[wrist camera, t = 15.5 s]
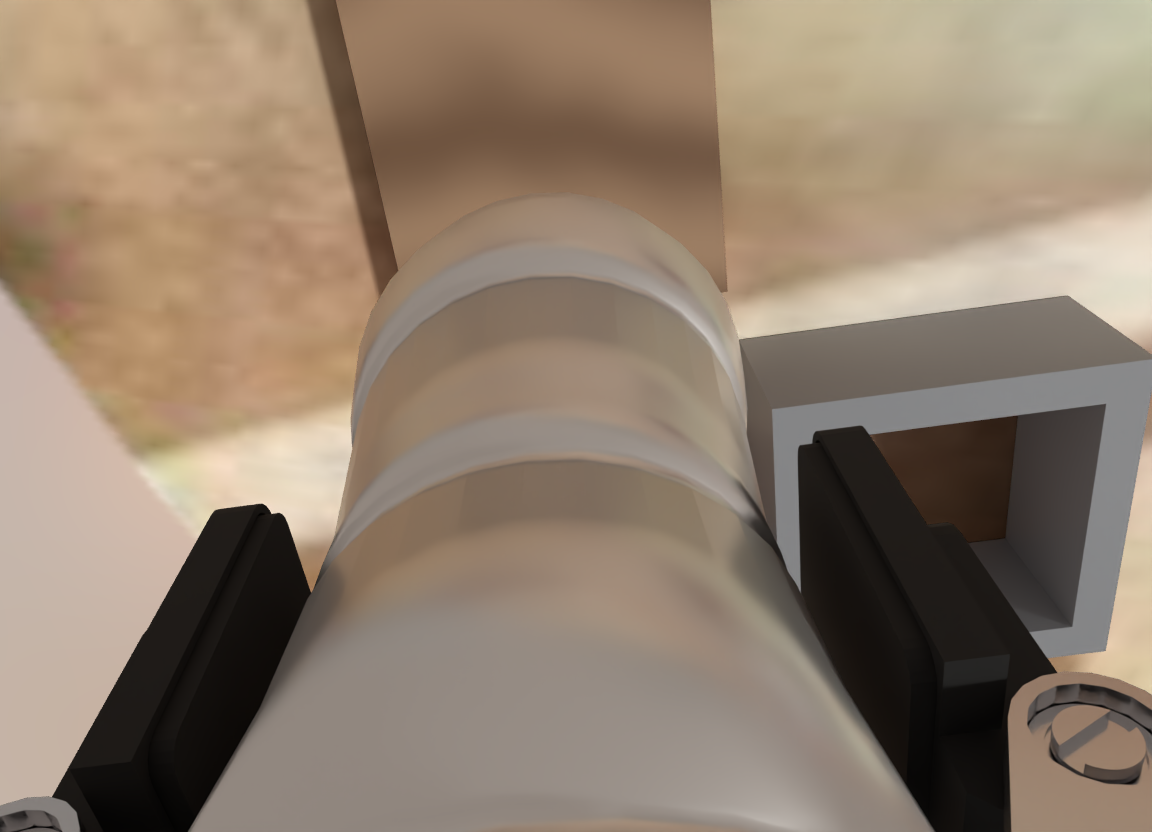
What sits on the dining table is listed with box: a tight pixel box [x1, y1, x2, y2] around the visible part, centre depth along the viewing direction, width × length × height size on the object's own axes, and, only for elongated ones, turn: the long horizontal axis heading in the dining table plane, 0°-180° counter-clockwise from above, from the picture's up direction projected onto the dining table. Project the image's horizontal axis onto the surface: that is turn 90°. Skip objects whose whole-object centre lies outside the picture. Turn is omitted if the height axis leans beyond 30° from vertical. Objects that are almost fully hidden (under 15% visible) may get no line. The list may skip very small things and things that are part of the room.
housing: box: [739, 296, 1152, 658], centre depth 38 cm, size 16×22×7 cm
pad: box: [336, 0, 727, 292], centre depth 33 cm, size 12×12×1 cm
